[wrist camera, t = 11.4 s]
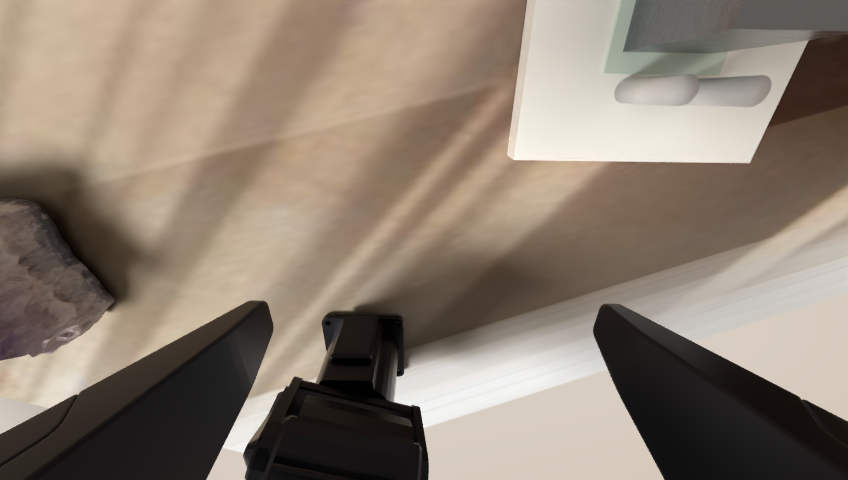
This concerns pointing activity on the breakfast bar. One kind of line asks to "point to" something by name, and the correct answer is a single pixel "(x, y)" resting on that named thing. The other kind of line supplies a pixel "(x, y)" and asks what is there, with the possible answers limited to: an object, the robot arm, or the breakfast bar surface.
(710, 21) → the block
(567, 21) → the pin tray
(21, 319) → the geode
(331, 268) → the breakfast bar surface
